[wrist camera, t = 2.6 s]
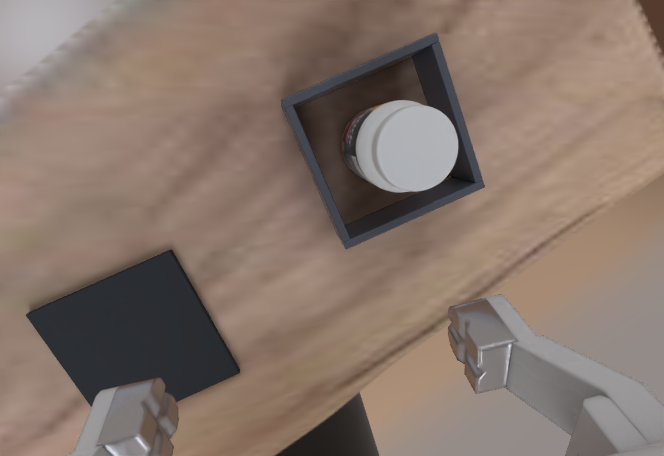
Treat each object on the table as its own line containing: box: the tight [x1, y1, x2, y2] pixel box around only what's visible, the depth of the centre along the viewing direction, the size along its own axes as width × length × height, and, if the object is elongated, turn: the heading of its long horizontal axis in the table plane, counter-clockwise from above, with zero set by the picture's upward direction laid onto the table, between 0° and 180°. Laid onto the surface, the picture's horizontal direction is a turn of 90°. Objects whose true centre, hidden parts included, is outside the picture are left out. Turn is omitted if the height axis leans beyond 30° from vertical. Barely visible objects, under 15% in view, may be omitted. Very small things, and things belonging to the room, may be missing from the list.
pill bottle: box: [341, 100, 458, 193], centre depth 26 cm, size 6×6×10 cm
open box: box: [281, 33, 485, 249], centre depth 29 cm, size 11×11×4 cm
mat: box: [26, 250, 240, 407], centre depth 31 cm, size 12×12×1 cm
